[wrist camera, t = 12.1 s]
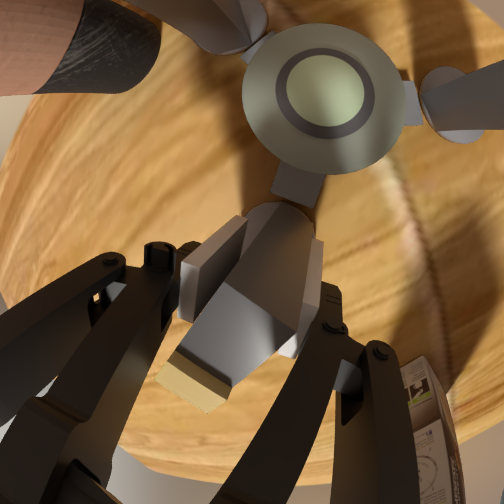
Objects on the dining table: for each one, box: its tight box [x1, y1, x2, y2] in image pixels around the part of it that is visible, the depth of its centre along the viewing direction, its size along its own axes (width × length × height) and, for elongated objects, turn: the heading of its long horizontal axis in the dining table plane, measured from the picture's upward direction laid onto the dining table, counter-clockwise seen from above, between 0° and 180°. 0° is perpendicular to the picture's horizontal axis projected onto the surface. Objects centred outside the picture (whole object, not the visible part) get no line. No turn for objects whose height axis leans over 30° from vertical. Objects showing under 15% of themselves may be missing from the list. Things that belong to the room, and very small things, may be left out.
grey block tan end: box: [154, 201, 315, 414], centre depth 13 cm, size 5×5×12 cm
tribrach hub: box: [240, 23, 423, 209], centre depth 12 cm, size 12×11×7 cm
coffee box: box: [400, 356, 466, 504], centre depth 14 cm, size 9×6×16 cm
